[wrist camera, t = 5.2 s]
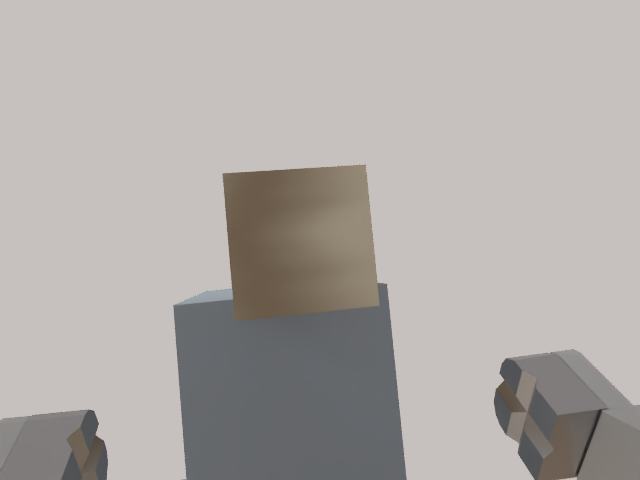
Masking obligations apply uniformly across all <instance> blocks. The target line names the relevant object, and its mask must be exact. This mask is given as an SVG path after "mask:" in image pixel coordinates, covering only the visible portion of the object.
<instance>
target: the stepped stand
mask: <svg viewBox="0 0 640 480" xmlns="http://www.w3.org/2000/svg"><path fill="white" fill-rule="evenodd" d="M377 284H378V295H379V305H380V306H372V307H363V308H353V309H344V310H335V311H326V312H316V313H307V314H298V315H289V316H279V317H270V318H261V319H251V320H242V321H235V317H234V305H233V293H232V289H225V290H215V291H206V292H204V293H201V294H199V295H197V296H194V297H192V298H190V299H187V300H185V301H183V302H180V303H178V304H176V305H174V319H175V333H176V346H177V359H178V371H179V386H180V399H181V411H182V425H183V439H184V452H185V464H186V477H187V479H184V480H406V470H405V460H404V450H403V440H402V430H401V420H400V410H399V400H398V390H397V380H396V370H395V360H394V350H393V340H392V330H391V320H390V310H389V301H388V291H387V284H383V283H377Z"/></svg>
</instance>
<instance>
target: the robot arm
mask: <svg viewBox="0 0 640 480" xmlns="http://www.w3.org/2000/svg"><path fill="white" fill-rule="evenodd" d="M500 374H501V376H502V377H503V379H504V381H503V382H502V384H501V385H500V386H499V387H498V388H497V389H496V392H495V398H494V405H495V412H496V416H497V418H498V421H499V424H500V426H501V427H502V429H503V431H504V432H505V434H506V435H507V436H509V437H510V438H512V439H513V440H515V441H517V442H518V443H519V448H518V454H519V456H520V458H521V459H522V461H523V462H524V464H525V465H526V467H527V468H528V470H529V472H530V473H531V474H532V476H533V478H534V479H535V480H559V479H567V478H574V477H577V480H640V405H635V406H633V405H632V404H631V403H630V402H629V401H628V400H627V399H626V398H625V397H624V396H623V395H622V394H621V393H620V392H619V391H618V390H617V389H616V388H615V387H614V386H613V385H612V384H611V383H610V382H609V381H608V380H607V379H606V378H605V377H604V376H603V375H602V374H601V373H600V372H599V371H598V370H597V369H596V368H595V367H594V366H593V365H592V364H591V363H590V362H589V361H588V360H587V359H586V358H585V357H584V356H583V355H582V354H581V353H580V352H578V351H576V350H574V349H573V350H565V351H559V352H551V353H543V354H536V355H528V356H521V357H514V358H506V359H505V361H504V362H503V363H502V366H501V370H500ZM98 425H99V423H98V421H97V418H96V415H95V412H94V411H92V410H80V411H70V412H60V413H50V414H40V415H32V416H27V417H15V418H4V419H2V420H0V480H106V479H107V466H108V459H107V451H106V447H105V443H104V441H103V440H102V439H100V438H99V437H97V436H96V435H95V434H96V431H97V428H98Z"/></svg>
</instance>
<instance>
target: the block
mask: <svg viewBox="0 0 640 480" xmlns="http://www.w3.org/2000/svg"><path fill="white" fill-rule="evenodd" d="M223 183H224V194H225V208H226V218H227V219H226V220H227V232H228V244H229V256H230V268H231V280H232V293H233V305H234V317H235V321H242V320H251V319H261V318H270V317H279V316H289V315H298V314H307V313H316V312H326V311H335V310H344V309H353V308H363V307H372V306H380V305H379V295H378V284H377V275H376V264H375V255H374V244H373V234H372V224H371V214H370V204H369V194H368V183H367V174H366V165H355V166H354V165H353V166H337V167H321V168H305V169H289V170H273V171H257V172H241V173H224V174H223Z"/></svg>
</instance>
